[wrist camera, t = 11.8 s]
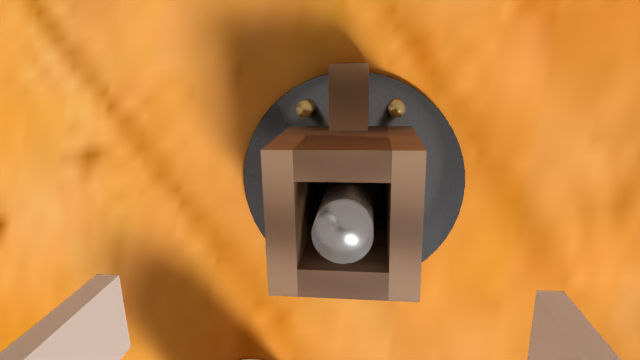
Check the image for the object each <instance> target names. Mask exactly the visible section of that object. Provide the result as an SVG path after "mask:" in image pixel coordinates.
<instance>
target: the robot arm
mask: <svg viewBox="0 0 640 360" xmlns="http://www.w3.org/2000/svg"><path fill="white" fill-rule="evenodd" d="M130 347H131V346H130V339H129V333H128V327H127V321H126V315H125V309H124V303H123V297H122V290H121V284H120V278H119V275H101V274H97V275H96V276H94V277H93V278H92V279H91V280H90V281H88V282H87V283H86V284H85V285H83V286H82V287H81V288H80V289H78V290H77V291H76V292H75V293H74V294H72V295H71V296H70V297H69V298H67V299H66V300H65V301H64V302H62V303H61V304H60V305H59V306H58V307H56V308H55V309H54V310H53V311H51V312H50V313H49V314H48V315H46V316H45V317H44V318H43V319H42V320H40V321H39V322H38V323H37V324H35V325H34V326H33V327H32V328H30V329H29V330H28V331H27V332H26V333H24V334H23V335H22V336H21V337H19V338H18V339H17V340H16V341H14V342H13V343H12V344H11V345H9V346H8V347H7V348H6V349H5V350H3V351H2V352H1V353H0V360H120V359H121V358H122V357H123V356H124V354H125V353H126V352H127V351H128V349H129V348H130ZM527 360H621V359H620V358H619V357H618V356H617V355H616V353H615V352H614V351H613V350H612V349H611V347H610V346H609V345H608V344H607V343H606V341H605V340H604V339H603V338H602V337H601V335H600V334H599V333H598V332H597V331H596V329H595V328H594V327H593V326H592V325H591V323H590V322H589V321H588V320H587V319H586V317H585V316H584V315H583V314H582V313H581V311H580V310H579V309H578V308H577V306H576V305H575V304H574V303H573V302H572V300H571V299H570V298H569V297H568V296H567V294H566V293H565V292H564V291H538V290H537V293H536V300H535V307H534V315H533V322H532V330H531V337H530V344H529V352H528V359H527Z"/></svg>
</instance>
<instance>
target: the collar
mask: <svg viewBox="0 0 640 360" xmlns="http://www.w3.org/2000/svg"><path fill="white" fill-rule="evenodd" d="M328 92H329V126H290V127H289V128H288V129H286V130H285V131H284V132H283V133H281V134H280V135H279V136H277V137H276V138H275V139H274V140H272V141H271V142H270V143H269V144H267V145H266V146H265V147H264V148H262V149H261V150H260V151H261V168H262V186H263V204H264V221H265V239H266V256H267V274H268V291H269V295H272V296H294V297H316V298H339V299H361V300H383V301H405V302H420V284H421V262H422V241H423V219H424V198H425V176H426V155H427V150H426V149H425V147H424V145H423V144H422V142H421V140H420V139H419V137H418V135H417V134H416V132H415V130H414V129H413V127H412V126H369V63H337V64H328ZM315 182H353V183H386V197H385V218H374V237H373V243H372V246H371V248H370V250H369V252H368V253H367V254H366V255H365V256H364V257H363V258H361V259H360V260H358V261H356V262H353V263H348V264H339V263H334V262H331V261H329V260H327V259H326V258H324V257H323V256H322V255H320V254H319V252H318V251H317V250H316V248H315V246H314V244H313V241H312V235H311V234H312V227H313V224H314V221H315V218H316V190H315Z"/></svg>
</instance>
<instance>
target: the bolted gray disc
mask: <svg viewBox="0 0 640 360" xmlns="http://www.w3.org/2000/svg"><path fill="white" fill-rule="evenodd" d="M290 126H329V92H328V74H326V75H322V76H319V77H316V78H314V79H311V80H308V81H306V82H304V83H302V84H300V85H298V86H296V87H295V88H293V89H292V90H290V91H289V92H287V93H286V94H285V95H283V96H282V97H281V98H280V99H279V100H278V101H277V102H276V103H275V104H273V105H272V106H271V108H270V109H269V110H268V111H267V113H266V114H265V115H264V116H263V118H262V119H261V121H260V123H259V124H258V126H257V128H256V129H255V132H254V134H253V136H252V139H251V141H250V144H249V147H248V151H247V155H246V161H245V169H244V183H245V191H246V197H247V201H248V205H249V208H250V211H251V213H252V216H253V218H254V221H255V223H256V224H257V226H258V228H259V230H260V232H261V233H262V235H263V236H264V237H265V221H264V204H263V186H262V168H261V151H260V150H261V149H262V148H264V147H265V146H266V145H267V144H269V143H270V142H271V141H272V140H274V139H275V138H276V137H277V136H279V135H280V134H281V133H283V132H284V131H285V130H286V129H288V128H289V127H290ZM369 126H412V127H413V129H414V130H415V132H416V134H417V135H418V137H419V139H420V140H421V142H422V144H423V145H424V147H425V149H426V150H427V155H426V176H425V198H424V219H423V241H422V262H423V261H424V260H425V259H427V258H428V257H429V256H430V255H431V254H432V253H433V252H434V251H435V250H437V248H438V247H439V246H440V245H441V244H442V242H443V241H444V240H445V239H446V237H447V236H448V234H449V232H450V231H451V229H452V228H453V226H454V223H455V221H456V219H457V217H458V214H459V211H460V208H461V205H462V201H463V195H464V188H465V170H464V162H463V156H462V153H461V149H460V146H459V143H458V140H457V138H456V136H455V134H454V131H453V129H452V128H451V126H450V125H449V123H448V121H447V120H446V118H445V117H444V116H443V114H442V113H441V112H440V111H439V110H438V108H437V107H436V106H435V105H434V104H433V103H432V102H431V101H430V100H428V99H427V98H426V97H425V96H424V95H423V94H421V93H420V92H418V91H417V90H415V89H414V88H412V87H411V86H409V85H407V84H405V83H403V82H401V81H399V80H397V79H394V78H391V77H388V76H385V75H382V74H376V73H371V72H369ZM315 190H316V218H315V221H314V224H313V227H312V234H311V235H312V241H313V244H314V246H315V248H316V250H317V251H318V252H319V254H320V255H322V256H323V257H324V258H326V259H327V260H329V261H331V262H334V263H339V264H348V263H353V262H356V261H358V260H360V259H361V258H363V257H364V256H365V255H366V254H367V253H368V252H369V250H370V248H371V246H372V243H373V237H374V218H385V197H386V183H353V182H315Z"/></svg>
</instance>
